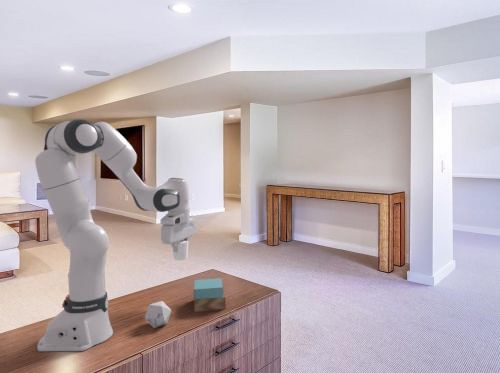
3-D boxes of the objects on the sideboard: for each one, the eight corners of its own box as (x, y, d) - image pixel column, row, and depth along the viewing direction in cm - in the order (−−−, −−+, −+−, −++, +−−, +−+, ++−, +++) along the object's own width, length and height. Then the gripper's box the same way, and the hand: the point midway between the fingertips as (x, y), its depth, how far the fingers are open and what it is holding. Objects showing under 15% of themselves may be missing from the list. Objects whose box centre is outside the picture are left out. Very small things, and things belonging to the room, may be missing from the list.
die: (140, 329, 127) (146, 313, 122) (146, 309, 134) (153, 293, 129) (163, 335, 128) (170, 319, 123) (168, 314, 136) (175, 299, 130)
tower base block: (194, 312, 139) (194, 300, 139) (194, 300, 151) (193, 289, 151) (225, 309, 141) (225, 297, 141) (222, 298, 153) (222, 286, 153)
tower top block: (194, 299, 139) (194, 289, 139) (195, 289, 150) (194, 279, 150) (223, 297, 141) (222, 287, 140) (221, 287, 152) (221, 278, 151)
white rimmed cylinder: (177, 261, 145) (176, 244, 145) (169, 258, 151) (168, 241, 150) (192, 258, 150) (191, 241, 149) (184, 254, 155) (183, 238, 154)
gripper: (186, 212, 160) (187, 243, 161) (157, 220, 141) (159, 255, 142) (199, 213, 157) (200, 244, 158) (170, 221, 138) (172, 256, 139)
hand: (180, 249), depth 150 cm, fingers closed on white rimmed cylinder, 5 cm apart
